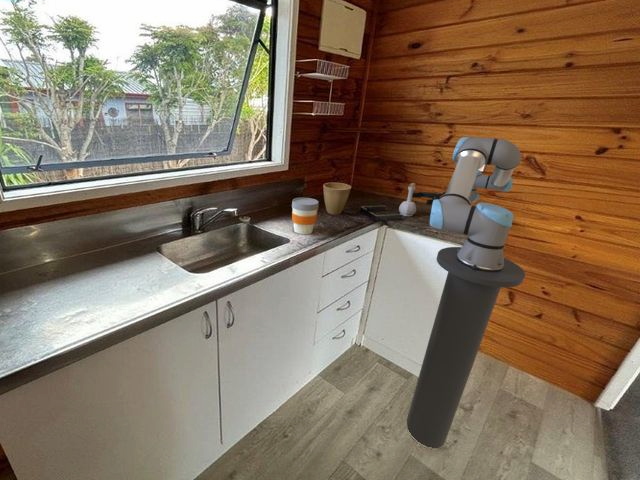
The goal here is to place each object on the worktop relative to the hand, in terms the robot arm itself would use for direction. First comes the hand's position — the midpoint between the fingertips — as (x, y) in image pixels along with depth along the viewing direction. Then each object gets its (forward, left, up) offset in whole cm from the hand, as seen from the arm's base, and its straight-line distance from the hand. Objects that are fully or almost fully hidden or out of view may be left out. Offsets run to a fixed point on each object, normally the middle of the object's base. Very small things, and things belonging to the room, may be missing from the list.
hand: (418, 198), depth 171 cm
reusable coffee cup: (-50, +55, -9) cm, 75 cm away
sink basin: (-11, +19, -9) cm, 24 cm away
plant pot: (-17, +44, -9) cm, 48 cm away
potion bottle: (-3, +5, -9) cm, 11 cm away
